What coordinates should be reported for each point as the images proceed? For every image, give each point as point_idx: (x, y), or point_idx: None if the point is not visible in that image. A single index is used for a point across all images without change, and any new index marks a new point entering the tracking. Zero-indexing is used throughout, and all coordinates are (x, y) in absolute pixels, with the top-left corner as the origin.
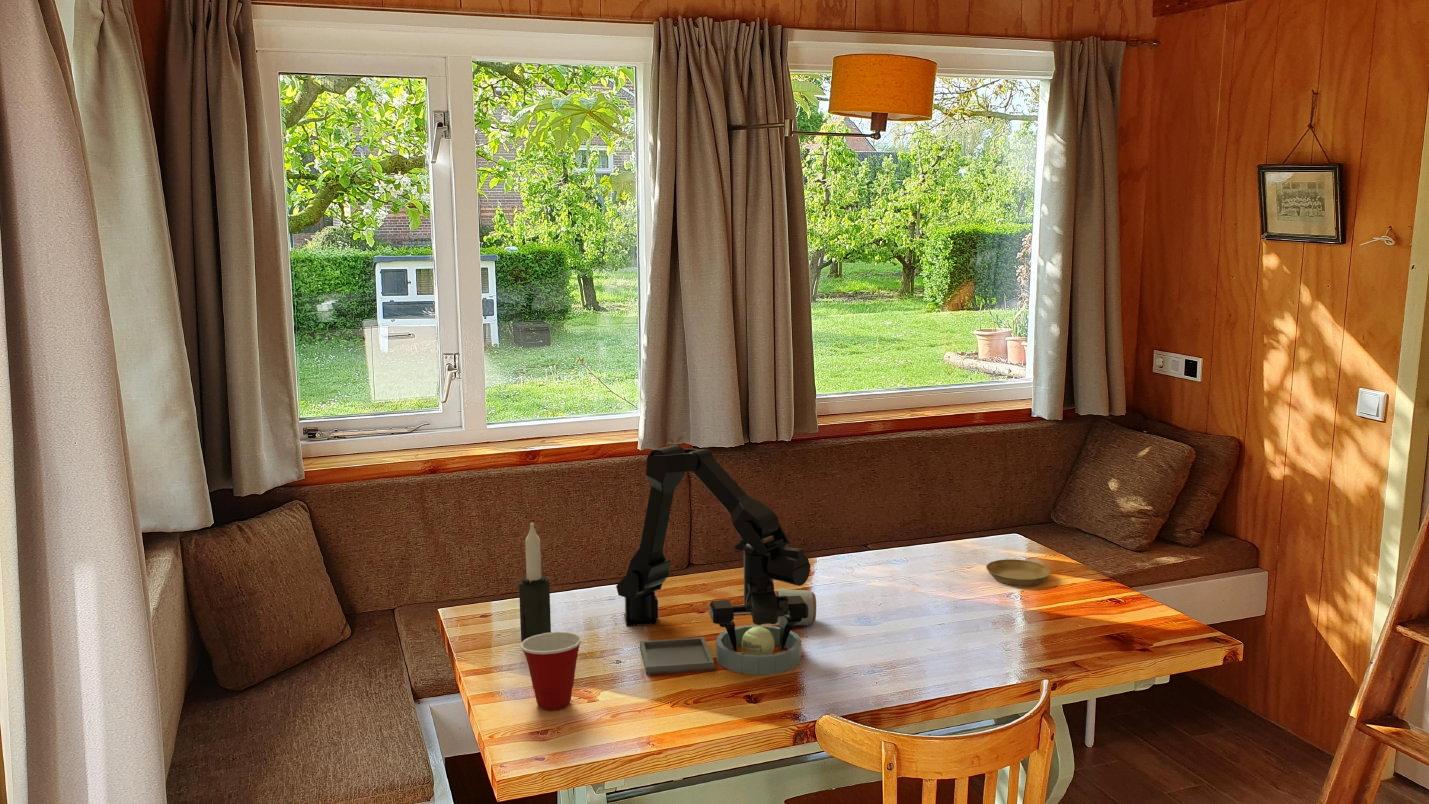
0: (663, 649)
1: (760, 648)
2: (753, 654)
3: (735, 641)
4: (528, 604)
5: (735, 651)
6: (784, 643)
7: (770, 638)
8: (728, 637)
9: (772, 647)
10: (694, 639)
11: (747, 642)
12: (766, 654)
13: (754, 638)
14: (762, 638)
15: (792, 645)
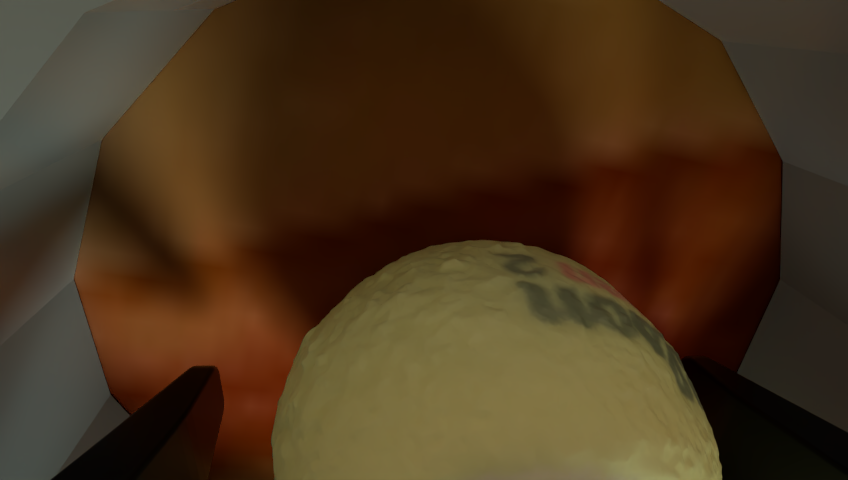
0: None
1: (531, 284)
2: (579, 266)
3: (827, 451)
4: None
5: (716, 365)
6: (139, 419)
7: (349, 452)
8: None
9: (329, 330)
10: None
11: (702, 411)
12: (422, 250)
13: (663, 446)
14: (523, 434)
15: (79, 449)
